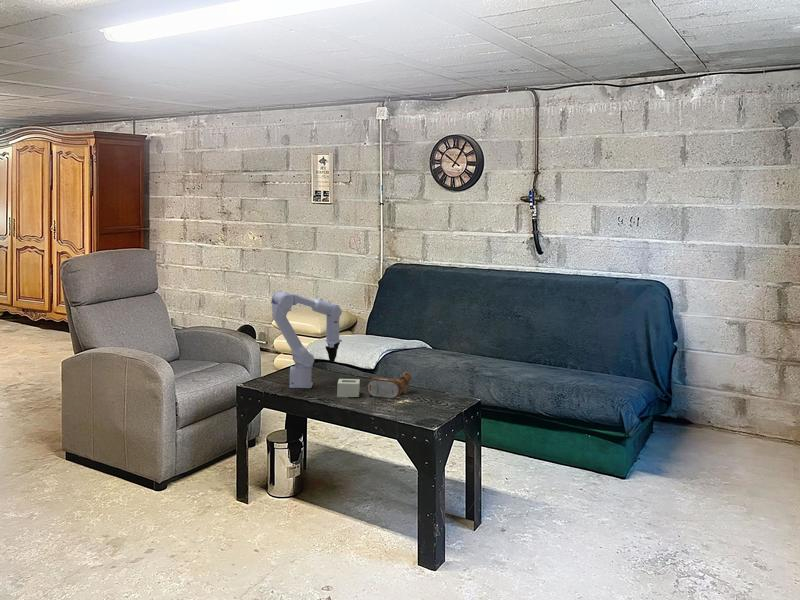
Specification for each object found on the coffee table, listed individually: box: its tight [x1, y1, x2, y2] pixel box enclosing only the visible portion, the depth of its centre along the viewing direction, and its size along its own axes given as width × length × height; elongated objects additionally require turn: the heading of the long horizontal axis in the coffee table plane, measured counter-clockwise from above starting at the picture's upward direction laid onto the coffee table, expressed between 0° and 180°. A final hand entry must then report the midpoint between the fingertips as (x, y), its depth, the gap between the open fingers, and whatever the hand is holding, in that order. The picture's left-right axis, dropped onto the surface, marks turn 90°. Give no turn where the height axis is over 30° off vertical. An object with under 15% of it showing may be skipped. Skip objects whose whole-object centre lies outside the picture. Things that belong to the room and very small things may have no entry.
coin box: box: [336, 378, 361, 398], centre depth 300 cm, size 9×8×6 cm
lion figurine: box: [396, 371, 412, 395], centre depth 304 cm, size 15×5×9 cm, turn 130°
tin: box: [366, 376, 403, 400], centre depth 298 cm, size 15×3×8 cm, turn 74°
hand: (332, 359), depth 319 cm, fingers open, 7 cm apart
